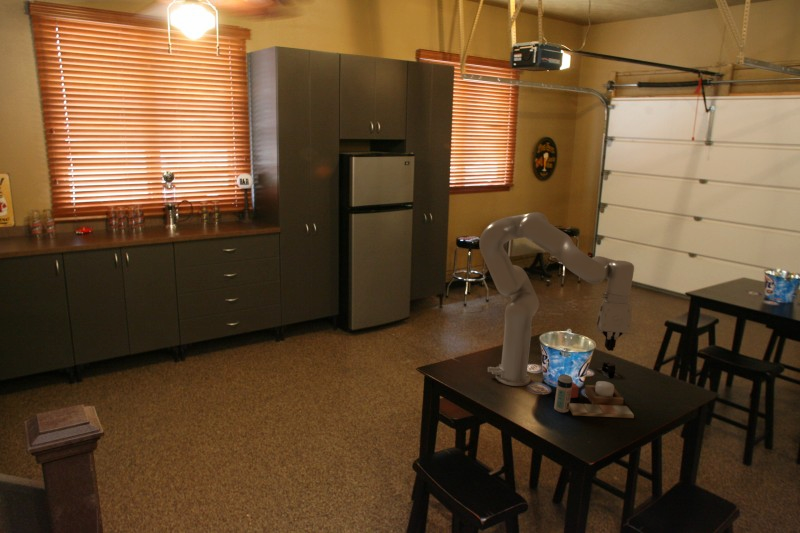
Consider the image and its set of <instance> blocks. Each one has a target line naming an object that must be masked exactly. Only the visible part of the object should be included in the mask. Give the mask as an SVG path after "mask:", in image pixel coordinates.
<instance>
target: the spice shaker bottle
mask: <svg viewBox="0 0 800 533" xmlns="http://www.w3.org/2000/svg"><path fill="white" fill-rule="evenodd" d="M572 382H574V380H573V377H572V376H571V375H569V374H559V376H558V377H557V383H556V391H555V397H554V398H555V400H554V405H553V406H554V407H553V408H554V410H555V411H557V412H558V413H562V414H565V413H567V412H569V411H570V409H569V404H570V403H571V398H570V397H571V390H572Z"/></svg>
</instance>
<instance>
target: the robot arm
mask: <svg viewBox="0 0 800 533" xmlns="http://www.w3.org/2000/svg"><path fill="white" fill-rule="evenodd" d="M523 238H526V239H527V240H528V241H530V242H532V243H533V244H535V245H537V247H540V248H541V249H542V250H544V251H546V253H549V254H550V255H552V256H553V257H554V258H555V259H556V260H557V261H558V262H560V263H561V265H563V266H564V268H566V269H567V270H569V271H570V273H571V272H572V273H573V274H574V275H575V276H577V277H579V278H581V279H582V280H583V281H585V282H587V283H589V284H600V283H601V282H603V281H605V279H607V285H606V290H605V292H604V293H601V294H600V296H601V299H603V300H602V302H601V304H600V307H599V310H598V314H597V320H596V328H595V332H597V334H603V336H604V337H605V339H604V342H605V343H604V347H605V349H606V350H607V351H609V352H610V351H611V352H614V350H615V349H614V348H615V347H616V342H617V340H618V339H619V338H620V337H621V336H623V335H628V334H629V332H630V330H631V327H632V326H631V325H632V311H633V310H632V303H631V302H630V296H631V289H632V284H633V278H634V272H635V266H634V264H633V263H632V262H630V261H626V260H618V259H617V260H615V259H612V258H608V257H605V256H600V255H596V256H593V257H591V256H589V255H587V254H586V253H585V252H583V251H582V250H581V249H579V248H578V247H577V246H576V245H575V243H574V241H573V240H572V238H571V237H570V235H568V234H567V233H565V232H564V231H563V230H561V229H559V228H558V227H556V226H554V225H553V224H551V223H550V222H549V218H548V217H547V216H546V215H545V214H544V213H542V212H539V211H538V212H537V211H534V212H529V213H525V214H524V213H523V214H519V215H512V216H507V217H503V218H500V219H497V220H495V221H493V222H491V223H490V224H489V225H487V226H486V228H485V229H483V231H482V233H481V234H480V237H479V243H478V245H479V251H480V253H481V256H482V259H483V260H484V262H485V264H486V267H487V269H488V271H489V274H490V276H491V279H492V281H493V284H494V286H495V287H496V290H497V292H498V293H499V294H500V295H502V296H504V297H510V301H509V302H508V303H507V305H506V307H505V310H504V331H503V344H502V353H501V363H499V364H498V366H496V367H494V366H487V373H491V374H492V375H495V379H496V380H497V381H498V382H499V383H501V384H504V385H507V386H511V387H524V386H527V385H529V384H530V383H531V377H530V374H528V366H529V365H528V364H529V358H530V357H529V356H530V355H529V354H530V349H531V348H530V347H531V346H530V345H531V338H532V320H533V317H534V315H535V314H536V313H537V312H538V309H539V307H540V302H539V298H538V295H537V293H536V291H535V288H534V286H533V284H532V282H531V280H530V277H529V276H528V274H527V272H526V271H525V269H523V267H520V266H519V265H516V264H513V263H512V261H511V258H510V256H509V254H508V252H507V251H506V250H505V247H504V245H505V244H506V243H508V242H509V241H512V240H517V239H523Z"/></svg>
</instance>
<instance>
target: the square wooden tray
mask: <svg viewBox="0 0 800 533" xmlns="http://www.w3.org/2000/svg"><path fill="white" fill-rule="evenodd" d="M595 388H596V384H595V385H594V384H593V385H592V384H591V385H590V384H585V385H584V392H583V393H584V395H585V394H586V395H585V396H586V397H587V400H589V402H590V404H597V405H619V406H624V401H625V400H624V397H623V396H622V395H621V394H620V393H619V391H617V389H616V388H615V387H614V392H613V397H604V396H597V395H596V394H595Z"/></svg>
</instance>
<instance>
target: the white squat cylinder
mask: <svg viewBox="0 0 800 533" xmlns="http://www.w3.org/2000/svg"><path fill="white" fill-rule="evenodd" d="M595 385H596V388H595V394H596V395H597V396H604V397H613V392H614V388H615V385H614V384H613V383H611V382H609V381H606V380H605V381H604V380H597V381H596V383H595Z"/></svg>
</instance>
